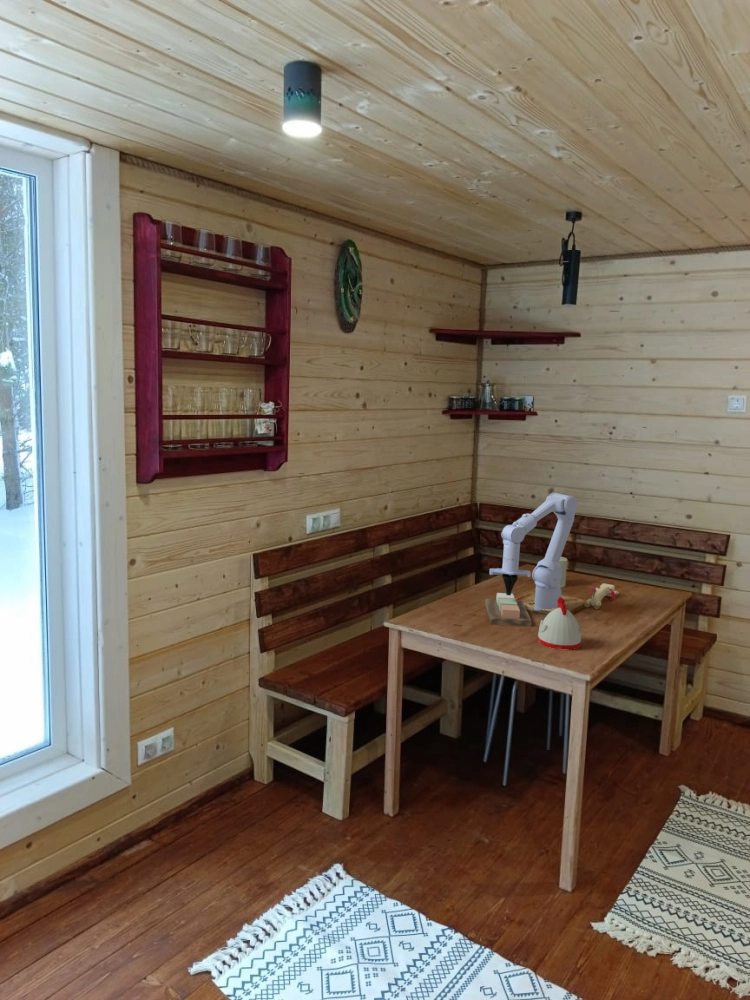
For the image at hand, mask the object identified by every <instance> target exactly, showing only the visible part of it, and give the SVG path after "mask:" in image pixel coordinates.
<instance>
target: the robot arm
mask: <svg viewBox="0 0 750 1000" xmlns="http://www.w3.org/2000/svg"><path fill="white" fill-rule="evenodd" d="M578 507H579V503H578V500H577V498H576V497H575V496H573V495H568V494H563V493H560V492H552V493H550V494H549V495H547V496H546V499H545V501H544V502H542V503H541V504H540V505H539V506H538V507H537V508H536V509H535V510H533V512H531V513H524V514H522V515H521V517H519V518H518V519H517V520H515V521H513V523H512V524H507V525H506V526H504V527H503V529H502V531H501V532H500V535H501V538H502V544H503V552H502V553H503V554H502V565H501V566H502V567H501V568H499V567H497V568H489V575H490V576H493V575H496V576H499V575H500V576H501V578H502V579H503V583H504V587H505V593H506V595H511V594H512V591H513V588H514V586H515V584H516V583H517V581H518V577H527V578H531V577H532V580H533V581H534V584H535V590H534V603H535V604H534V606H535V607H536V608H535V607H534V608H533V610H534V611H537V612H542V611H541V610H542V609H544V610H545V609H552V608H558V606H557V599H559V597H562V588H561V587H559V586H558V585H559V583H560V580H561V572H562V569H561V567H560V566H559V560H560V558H561V557H562V554H563V552H564V550H565V546H566V544H567V541H568V538H569V535H570V532H571V530H572V527H573V524H574V521H575V515H576V512H577V510H578ZM552 512H553V514H554V515H555V516H556V517H557V522H556V525H555V527H554V531H553V533H552V535H551V539H550V542H549V545H548V547H547V549H546V553H545V554H544V555H545V556H544V558H543V559H541V560H539V561H538V562H537V564H536V566H535V567H534V569H533V570H532V573H531V571H530V570H526V569H525V570H524V569H519V564H520V551H521V549H520V548H521V542H523V541H524V539H525V537H526V535H527V533H529V532H531V531H532V530H533V529H535V528H536V526H537V525H538V521H540V520H541V519H542V518H544V517H545V516H547V515H549V514H550V513H552ZM547 568H551V570H550V569H547Z"/></svg>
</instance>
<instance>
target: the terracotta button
mask: <svg viewBox="0 0 750 1000" xmlns="http://www.w3.org/2000/svg"><path fill="white" fill-rule="evenodd" d="M500 614H501V617H502V618H509V619H519V618H520V609H519V607H518V606H517V605H501V613H500Z"/></svg>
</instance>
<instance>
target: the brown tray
mask: <svg viewBox="0 0 750 1000" xmlns="http://www.w3.org/2000/svg"><path fill="white" fill-rule="evenodd" d="M515 600H516V599H515ZM516 602H517V606H518V607H519V609H520V618H519V619H509V618H502V617H501V614H500V613H501V612H500V611H499V608H498V605H497V602H496V598H485V600H484V605H485V607H486V611H487V615H488V618H489V623H490V624H491V625H500V626H501V625H503V626H516V627H517V626H520V627H532V619H531V617H530V614H529V612H528V611H527V608H526V605H525V604H524V601H523V600H516Z"/></svg>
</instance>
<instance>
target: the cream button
mask: <svg viewBox="0 0 750 1000" xmlns="http://www.w3.org/2000/svg"><path fill="white" fill-rule="evenodd" d="M495 599H496V602H497V605H498V604H499V599H515V595H514V593H511V595H506V592H504V593H503V592H497V593H496V598H495ZM515 600H516V599H515Z"/></svg>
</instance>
